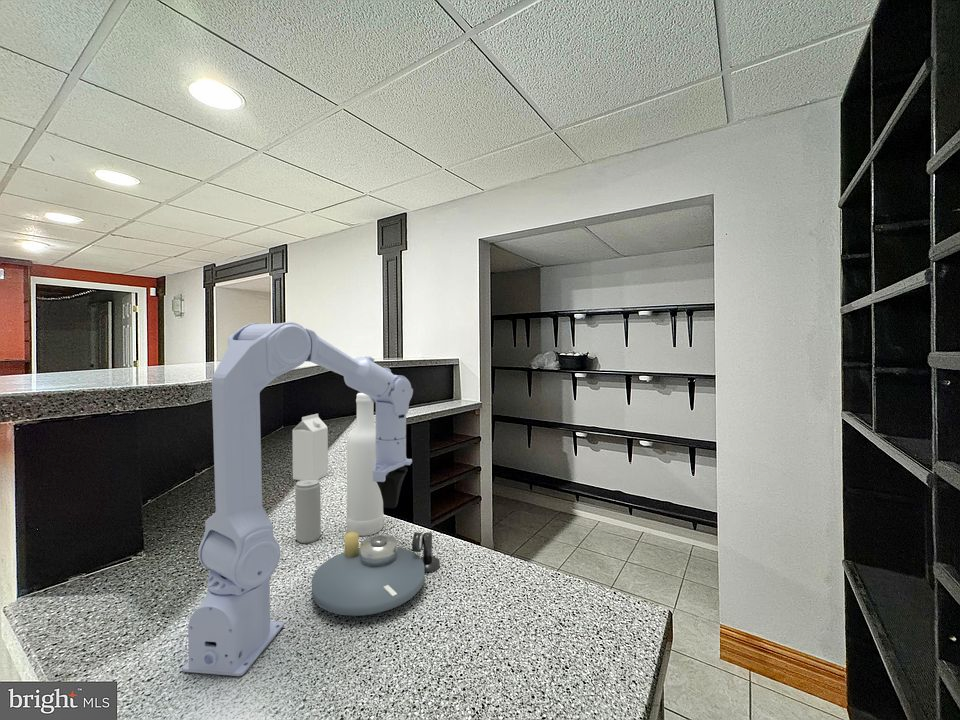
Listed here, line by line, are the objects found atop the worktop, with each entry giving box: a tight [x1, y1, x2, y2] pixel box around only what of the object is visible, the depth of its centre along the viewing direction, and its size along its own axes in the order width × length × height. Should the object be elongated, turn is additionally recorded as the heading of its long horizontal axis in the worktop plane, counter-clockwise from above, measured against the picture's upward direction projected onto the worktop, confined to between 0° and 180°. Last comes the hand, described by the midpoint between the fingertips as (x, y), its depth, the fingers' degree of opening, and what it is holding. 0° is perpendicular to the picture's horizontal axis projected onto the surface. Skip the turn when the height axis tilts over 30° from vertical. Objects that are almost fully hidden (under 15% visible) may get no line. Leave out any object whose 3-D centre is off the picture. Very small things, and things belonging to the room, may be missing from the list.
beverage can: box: [294, 479, 322, 544], centre depth 87 cm, size 5×5×12 cm
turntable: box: [311, 532, 425, 617], centre depth 69 cm, size 18×18×5 cm
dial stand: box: [411, 531, 441, 573], centre depth 76 cm, size 5×4×7 cm
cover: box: [359, 534, 398, 567], centre depth 74 cm, size 6×6×3 cm
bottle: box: [345, 392, 385, 537], centre depth 91 cm, size 8×8×30 cm
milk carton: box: [291, 413, 329, 481], centre depth 126 cm, size 7×7×19 cm
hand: (390, 506), depth 80 cm, fingers closed
